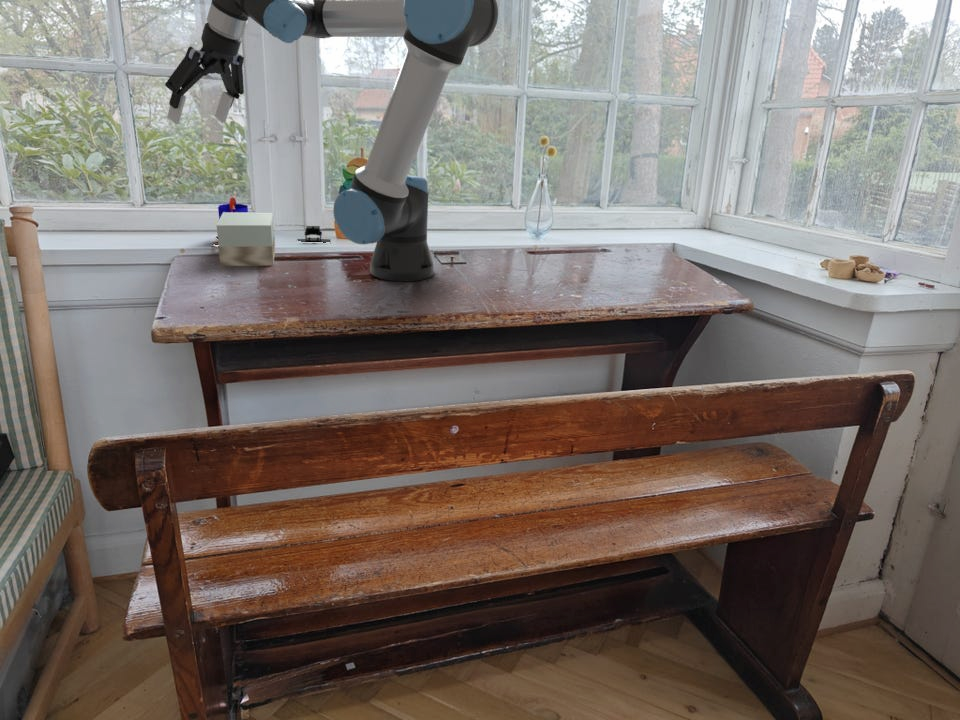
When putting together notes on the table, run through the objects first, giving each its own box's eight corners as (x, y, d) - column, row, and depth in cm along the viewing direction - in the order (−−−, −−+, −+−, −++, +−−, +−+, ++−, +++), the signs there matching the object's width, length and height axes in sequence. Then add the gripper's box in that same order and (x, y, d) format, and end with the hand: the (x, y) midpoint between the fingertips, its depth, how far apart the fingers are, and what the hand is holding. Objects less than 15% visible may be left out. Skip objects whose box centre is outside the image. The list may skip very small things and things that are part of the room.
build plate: (289, 246, 178) (288, 229, 176) (291, 240, 184) (290, 223, 183) (336, 246, 180) (336, 230, 178) (337, 240, 187) (336, 224, 185)
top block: (274, 231, 170) (272, 212, 168) (272, 246, 157) (270, 225, 155) (225, 232, 167) (223, 212, 165) (218, 246, 154) (216, 225, 152)
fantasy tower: (215, 237, 181) (210, 192, 176) (260, 237, 184) (257, 193, 179) (210, 248, 170) (204, 201, 165) (258, 247, 173) (254, 201, 168)
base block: (275, 250, 172) (274, 231, 170) (273, 266, 159) (271, 246, 157) (226, 251, 169) (224, 232, 167) (220, 267, 156) (218, 246, 154)
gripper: (253, 26, 150) (226, 110, 161) (162, 13, 129) (138, 110, 140) (277, 45, 149) (248, 128, 160) (189, 34, 128) (163, 131, 139)
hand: (197, 120), depth 150 cm, fingers open, 13 cm apart
